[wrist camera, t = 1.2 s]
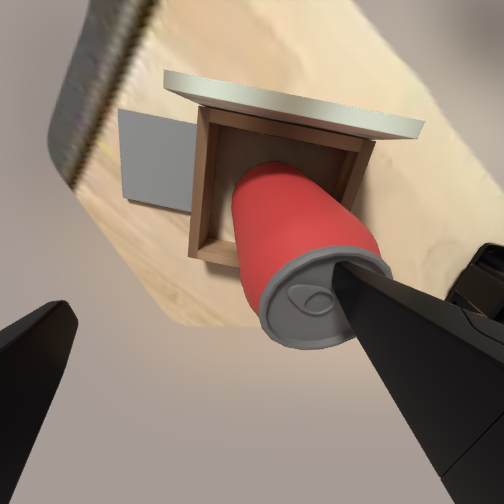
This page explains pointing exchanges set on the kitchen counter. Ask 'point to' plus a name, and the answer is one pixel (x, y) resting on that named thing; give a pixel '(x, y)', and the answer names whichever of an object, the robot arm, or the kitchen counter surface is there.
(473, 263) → the robot arm
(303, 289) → the beer can
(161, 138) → the plate
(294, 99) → the drawer
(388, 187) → the kitchen counter surface
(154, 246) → the kitchen counter surface
